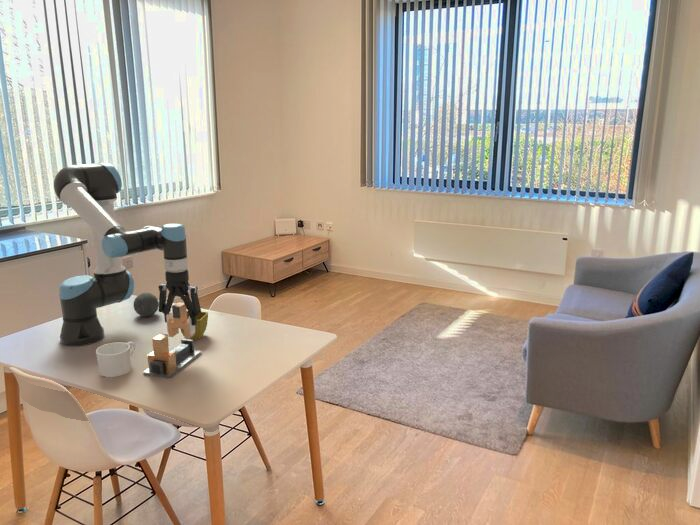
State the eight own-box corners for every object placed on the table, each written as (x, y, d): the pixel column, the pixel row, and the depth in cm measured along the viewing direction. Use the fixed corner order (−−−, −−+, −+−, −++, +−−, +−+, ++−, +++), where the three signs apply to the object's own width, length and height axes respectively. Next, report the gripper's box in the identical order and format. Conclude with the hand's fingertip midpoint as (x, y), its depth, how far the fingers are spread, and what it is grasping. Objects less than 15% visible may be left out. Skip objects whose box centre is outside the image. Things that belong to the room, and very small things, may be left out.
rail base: (143, 374, 186) (140, 339, 183) (176, 350, 205) (174, 318, 202) (170, 378, 184) (167, 342, 181) (201, 353, 203) (199, 321, 199)
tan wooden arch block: (194, 334, 199) (192, 303, 196) (187, 339, 194) (185, 308, 191) (174, 332, 201) (172, 301, 198) (167, 337, 196) (165, 305, 193)
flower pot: (209, 333, 221) (208, 311, 219) (202, 342, 213) (200, 319, 210) (188, 332, 222) (186, 310, 219) (179, 341, 213) (177, 318, 211)
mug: (111, 380, 182) (109, 357, 180) (91, 372, 187) (88, 350, 185) (146, 365, 193) (144, 343, 191) (126, 358, 198) (123, 336, 196)
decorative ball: (164, 315, 239) (162, 293, 236) (141, 321, 232) (139, 298, 229) (152, 310, 246) (150, 288, 243) (130, 315, 239) (128, 293, 236)
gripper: (143, 270, 191) (149, 333, 197) (198, 274, 186) (202, 339, 191) (156, 264, 198) (161, 325, 204) (209, 269, 193) (213, 331, 198)
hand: (181, 332), depth 198 cm, fingers closed on tan wooden arch block, 8 cm apart
